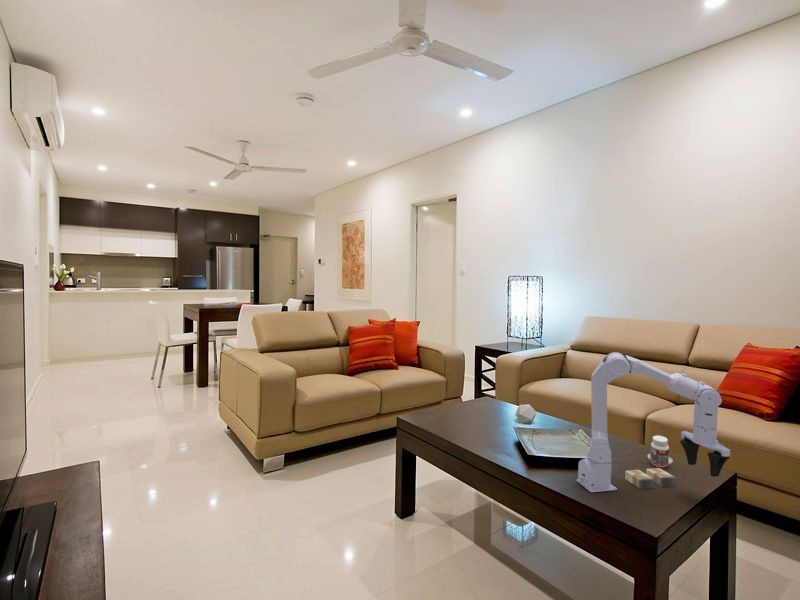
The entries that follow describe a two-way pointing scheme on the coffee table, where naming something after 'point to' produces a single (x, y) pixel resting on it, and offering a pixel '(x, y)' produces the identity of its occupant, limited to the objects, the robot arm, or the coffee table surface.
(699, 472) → the coffee table surface
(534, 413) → the die
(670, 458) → the stone coaster
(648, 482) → the beech tile
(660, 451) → the pill bottle
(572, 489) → the coffee table surface
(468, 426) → the coffee table surface
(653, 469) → the beech tile
